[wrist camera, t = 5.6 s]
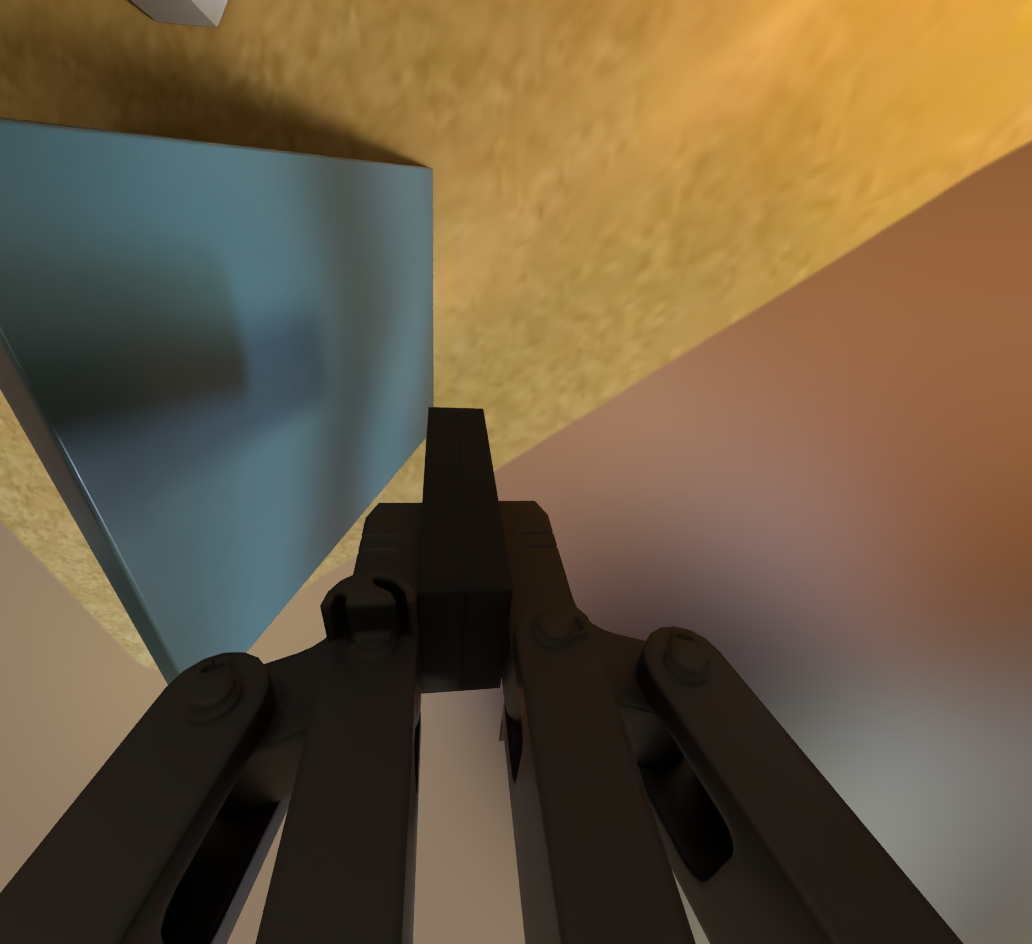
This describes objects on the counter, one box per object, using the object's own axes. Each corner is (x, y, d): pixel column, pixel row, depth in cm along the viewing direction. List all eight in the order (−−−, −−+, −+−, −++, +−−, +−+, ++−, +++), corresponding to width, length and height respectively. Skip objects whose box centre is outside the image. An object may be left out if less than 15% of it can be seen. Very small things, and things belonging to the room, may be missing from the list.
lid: (177, 704, 13) (199, 711, 13) (-168, 100, 5) (-124, 104, 5) (423, 426, 28) (433, 428, 28) (418, 166, 21) (433, 168, 20)
